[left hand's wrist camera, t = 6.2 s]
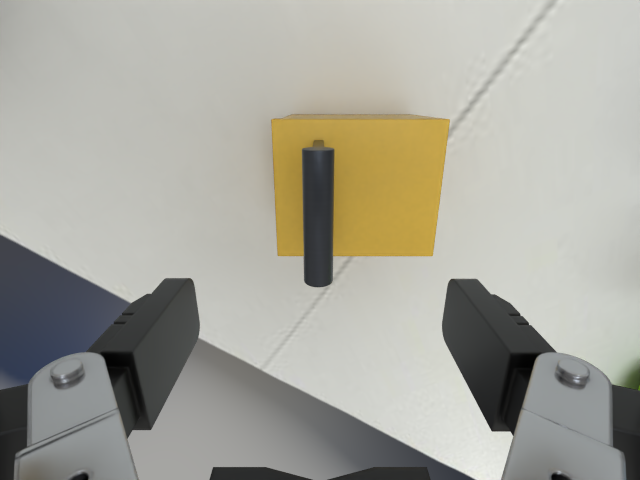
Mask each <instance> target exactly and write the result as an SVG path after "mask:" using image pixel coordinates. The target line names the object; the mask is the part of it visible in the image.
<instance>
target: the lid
mask: <svg viewBox="0 0 640 480" xmlns="http://www.w3.org/2000/svg"><path fill="white" fill-rule="evenodd" d="M449 122H450V120H449V119H272V120H271V123H272V144H273V166H274V187H275V208H276V230H277V251H278V256H304V282H305V283H306V284H307V285H309V286H312V287H324V286H328V285H330V284H331V283H332V281H333V256H433V249H434V241H435V234H436V226H437V218H438V210H439V202H440V194H441V186H442V178H443V170H444V162H445V154H446V146H447V138H448V130H449Z"/></svg>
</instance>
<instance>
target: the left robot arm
mask: <svg viewBox="0 0 640 480" xmlns="http://www.w3.org/2000/svg"><path fill="white" fill-rule="evenodd" d="M199 329H200V322H199V314H198V308H197V301H196V294H195V287H194V283H193V280H192V279H190V278H166V279H164V280H163V281H162V282H161V284H160V285H159V286H158V287H157V288H156V289H155V290H154V291H153V293H152V294H146V295H145V296H143V297H141V298H139V299H138V300H136V301H134V302H133V303H131V304H130V306H129V307H128V308H127V309H126V310H125V311H124V312H123V313H122V315H121V316H119V317H118V318H117V319H116V320H115V321H114V324H112V325H111V326H110V327H109V328H108V329H107V330H106V331H105V332H104V333H103V334H102V335H101V336H100V337H99V338H98V340H97V341H96V342H95V343H94V344H93V345H92V346H91V347H90V348H89V349H88V350H87V351H86V352H84V353H77V354H72V355H69V356H65V357H63V358H60V359H58V360H56V361H53V362H52V363H50V364H48V365H47V366H45V367H44V368H42V369H41V370H40V371H38V372H37V373H36V374H35V375H34V376H33V377H32V379H31V380H30V382H29V384H26V385H21V386H17V387H12V388H7V389H2V390H0V480H139V478H138V475H137V471H136V468H135V464H134V461H133V457H132V454H131V450H130V447H129V443H128V440H127V439H128V437H129V435H130V433H131V432H132V430H151V429H152V427H153V425H154V423H155V421H156V419H157V417H158V415H159V413H160V411H161V409H162V408H163V406H164V404H165V402H166V400H167V398H168V396H169V394H170V392H171V390H172V388H173V386H174V384H175V382H176V381H177V379H178V377H179V375H180V373H181V371H182V369H183V367H184V365H185V363H186V361H187V359H188V357H189V355H190V353H191V352H192V350H193V348H194V346H195V344H196V342H197V339H198V336H199ZM442 331H443V337H444V340H445V343H446V345H447V347H448V349H449V350H450V352H451V354H452V356H453V358H454V360H455V362H456V364H457V366H458V368H459V370H460V371H461V373H462V375H463V377H464V379H465V381H466V383H467V385H468V387H469V389H470V391H471V392H472V394H473V396H474V398H475V400H476V402H477V404H478V406H479V408H480V410H481V412H482V413H483V415H484V417H485V419H486V421H487V423H488V425H489V427H490V429H491V431H511V433H512V435H513V440H512V443H511V447H510V450H509V454H508V457H507V461H506V464H505V468H504V471H503V475H502V478H501V480H640V390H635V389H630V388H626V387H621V386H616V385H612V384H611V382H610V380H609V379H608V377H607V376H606V375H605V374H604V373H603V372H602V371H600V370H599V369H598V368H597V367H595V366H594V365H592V364H590V363H588V362H587V361H584V360H582V359H580V358H577V357H575V356H571V355H568V354H563V353H557V352H556V351H555V350H554V349H553V348H552V347H551V346H550V345H549V344H548V343H547V342H546V341H545V339H544V338H543V337H542V336H541V335H540V334H539V333H538V332H537V331H536V330H535V329H534V328H533V327H532V326H531V325H529V323H528V322H527V321H526V319H525V318H524V317H523V316H520V313H519V312H518V311H517V310H516V309H515V308H514V307H513V306H512V305H511V304H510V303H509V302H507V301H505V300H503V299H502V298H500V297H498V296H497V295H491V294H490V293H489V292H488V291H487V289H486V288H485V287H484V286H483V285H482V284H481V283H480V282H479V281H478V280H477V279H451V280H450V281H449V283H448V287H447V294H446V300H445V307H444V314H443V321H442ZM210 480H311V479H308V478H304V477H300V476H297V475H293V474H289V473H285V472H282V471H278V470H274V469H270V468H267V467H213V470H212V473H211V477H210ZM329 480H430V477H429V473H428V470H427V467H373V468H370V469H366V470H362V471H359V472H355V473H351V474H347V475H343V476H340V477H336V478H332V479H329Z"/></svg>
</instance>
